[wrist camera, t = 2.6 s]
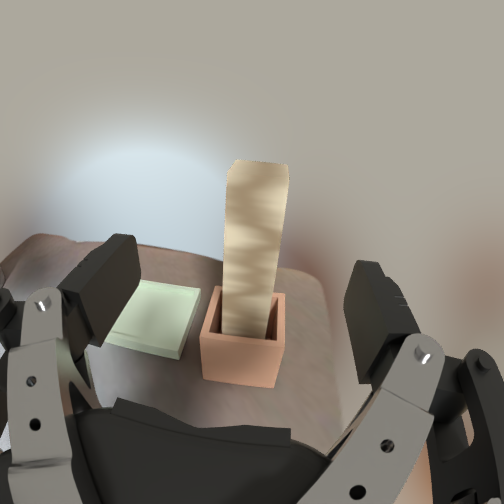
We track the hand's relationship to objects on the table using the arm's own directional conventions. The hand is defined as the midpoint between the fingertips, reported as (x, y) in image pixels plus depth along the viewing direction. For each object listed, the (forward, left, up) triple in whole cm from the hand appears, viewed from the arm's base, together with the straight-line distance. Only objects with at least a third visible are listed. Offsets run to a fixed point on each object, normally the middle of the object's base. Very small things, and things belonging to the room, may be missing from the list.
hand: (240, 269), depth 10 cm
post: (-7, +9, -19) cm, 22 cm away
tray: (-20, +3, -20) cm, 29 cm away
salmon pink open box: (-7, +9, -20) cm, 23 cm away
